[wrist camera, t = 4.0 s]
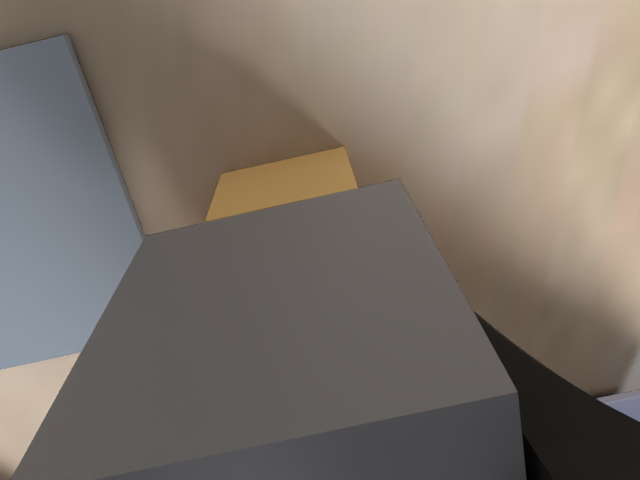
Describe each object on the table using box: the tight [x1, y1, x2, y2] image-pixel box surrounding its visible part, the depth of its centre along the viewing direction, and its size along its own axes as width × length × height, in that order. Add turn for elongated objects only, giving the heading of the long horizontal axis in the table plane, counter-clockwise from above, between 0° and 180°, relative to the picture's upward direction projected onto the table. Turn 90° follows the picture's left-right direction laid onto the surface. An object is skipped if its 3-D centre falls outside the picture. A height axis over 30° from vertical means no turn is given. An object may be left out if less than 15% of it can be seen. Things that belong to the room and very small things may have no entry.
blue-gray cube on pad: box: [11, 179, 526, 480], centre depth 10 cm, size 6×6×7 cm
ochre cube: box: [205, 146, 358, 222], centre depth 18 cm, size 4×4×4 cm
